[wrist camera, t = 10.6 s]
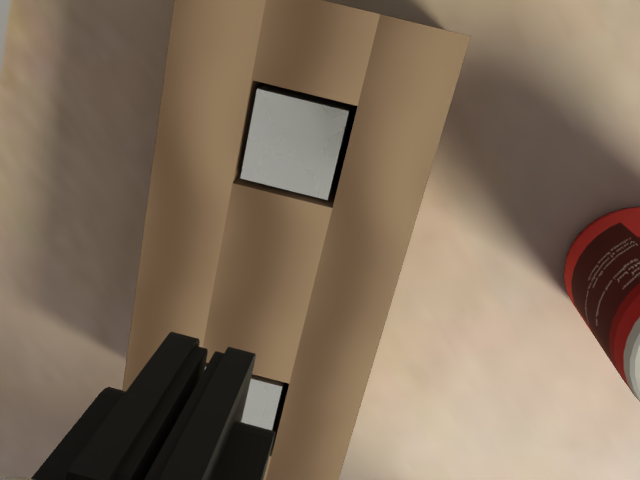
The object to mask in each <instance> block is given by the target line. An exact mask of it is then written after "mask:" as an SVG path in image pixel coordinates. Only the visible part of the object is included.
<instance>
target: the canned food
mask: <svg viewBox="0 0 640 480" xmlns="http://www.w3.org/2000/svg"><path fill="white" fill-rule="evenodd" d="M564 276H565V286H566V289H567V293H568V295H569V297H570V299H571V301H572V303H573V304H574V306H575V307H576V309H577V311H578V312H579V314H580V315H581V317H582V318H583V320H584V321H585V323H586V324H587V326H588V327H589V329H590V330H591V332H592V333H593V335H594V336H595V338H596V339H597V341H598V342H599V344H600V345H601V347H602V348H603V350H604V351H605V353H606V354H607V356H608V357H609V359H610V361H611V362H612V364H613V365H614V367H615V368H616V370H617V371H618V373H619V374H620V376H621V377H622V379H623V380H624V382H625V383H626V384H627V385H628V387H629V388H630V390H631V391H632V393H633V394H634V396H635V397H636V398H637V399H638V400H639V401H640V207H633V208H624V209H621V210H617V211H614V212H610V213H608V214H606V215H604V216H602V217H600V218H598V219H597V220H595V221H594V222H592V223H591V224H589V225H588V226H587V227H586V228H585V229H584V230H583V231H582V232H581V233H580V234H579V235H578V236H577V238H576V239H575V241H574V242H573V243H572V245H571V247H570V250H569V252H568V254H567V258H566V263H565V270H564Z"/></svg>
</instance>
